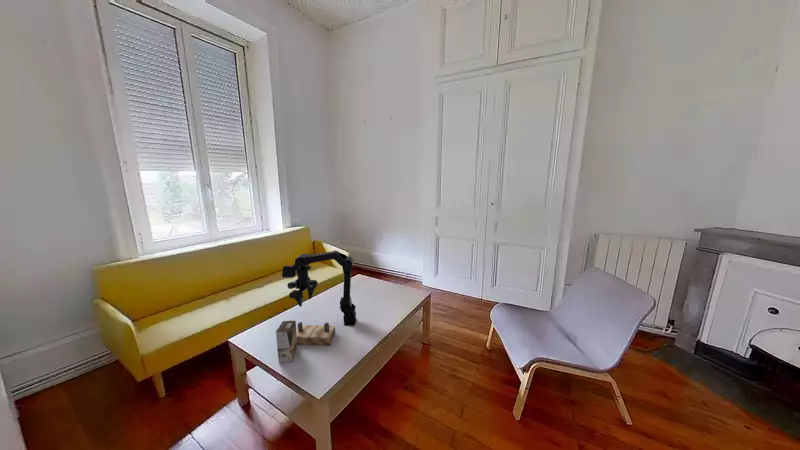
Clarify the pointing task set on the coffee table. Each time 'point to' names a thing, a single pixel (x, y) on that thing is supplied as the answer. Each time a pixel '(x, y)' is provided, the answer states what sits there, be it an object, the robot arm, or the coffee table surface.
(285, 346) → the coffee box
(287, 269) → the robot arm
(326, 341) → the walnut box
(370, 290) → the coffee table surface
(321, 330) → the lid
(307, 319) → the coffee table surface
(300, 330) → the lid
